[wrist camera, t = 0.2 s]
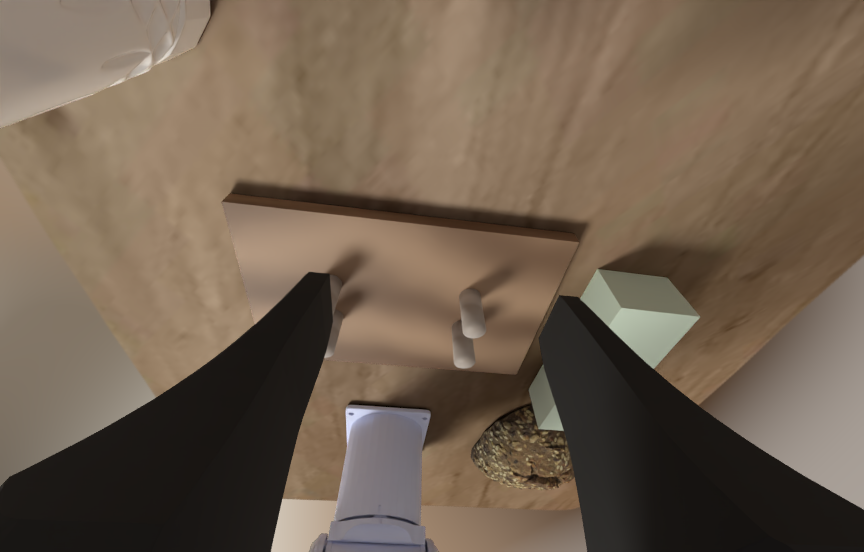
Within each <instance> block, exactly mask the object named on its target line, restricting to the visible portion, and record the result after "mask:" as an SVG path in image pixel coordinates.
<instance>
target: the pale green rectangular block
mask: <svg viewBox="0 0 864 552" xmlns="http://www.w3.org/2000/svg"><path fill="white" fill-rule="evenodd" d="M580 300H582V301H583V302H584V303H585V304H586V305H587V306H588V307H589V308H590V309H591V310H592V311H593V312H594V313H595V314H596V315H597V316H598V317H599V318H600V319H601V320H602V321H603V322H604V323H605V324H606V325H607V326H608V327H609V328H610V329H611V330H612V331H613V332H614V333H615V334H616V335H617V336H618V337H620V338H621V339H622V340H623V341H624V342H625V343H626V344H627V345H628V346H629V347H630V348H631V349H632V350H633V351H634V352H635V353H636V354H637V355H638V356H640V357H641V358H642V359H643V360H644V361H645V362H646V363H647V364H648V365H650V366H651V367H652V368H653V369H654V368H655V367H656V366H657V365H658V363H659V362H660V361H661V360H662V359H663V358H664V357H665V356H666V355H667V353H668V352H669V351H670V350H671V349H672V348H673V347H674V346H675V345H676V344H677V342H678V341H679V340H680V339H681V338H682V337H683V336H684V335H685V334H686V332H687V331H688V330H689V329H690V328H691V327H692V326H693V325H694V324H695V322H696V321H697V320H698V319H699V318H700V316H699V314H698V313H697V312H696V311H695V310H694V309H693V307H692V306H691V305H690V304H689V303H688V301H687V300H686V299H685V298H684V297H683V296H682V294H681V293H680V292H679V291H678V290H677V288H676V287H675V286H674V285H673V284H672V283H671V281H670V280H669V279H668V278H666V277H658V276H650V275H642V274H634V273H626V272H618V271H610V270H602V269H597V270H596V272H595V274H594V276H593V277H592V279H591V281H590V283H589V284H588V286H587V288H586V290H585V291H584V293H583V295H582V297H581V298H580ZM528 390H529V394H530V398H531V402H532V406H533V410H534V414H535V418H536V422H537V426H538V429H546V430H559V431H564V430H563V427H562V424H561V420H560V417H559V414H558V411H557V408H556V405H555V402H554V399H553V395H552V392H551V389H550V386H549V383H548V380H547V376H546V373H545V370H544V366H543V365H542V367H541V368H540V370H539V372H538V374H537V375H536V377H535V379H534V381H533V382H532V384H531V386H530V388H529V389H528Z"/></svg>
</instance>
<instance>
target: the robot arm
mask: <svg viewBox="0 0 864 552" xmlns="http://www.w3.org/2000/svg"><path fill="white" fill-rule="evenodd" d="M332 324H333V313H332V299H331V285H330V274H328V273H317V272H308V273H307V274H306V275H305V276H304V277H303V278H302V279H301V280H300V281H299V282H298V283H297V284H296V285H295V286H294V287H293V288H292V289H291V290H290V291H289V292H288V293H287V294H286V295H285V296H284V297H283V298H282V299H281V300H280V301H279V302H278V303H277V304H276V305H275V306H274V307H273V308H272V309H271V310H270V311H269V312H268V313H267V314H266V315H265V316H264V317H263V318H261V319H260V320H259V321H258V322H257V323H256V324H255V325H254V326H252V327H251V328H250V329H249V330H248V331H247V332H245V333H244V334H243V335H242V336H241V337H240V338H238V339H237V340H236V341H235V342H234V343H233V344H231V345H230V346H229V347H228V348H226V349H225V350H224V351H223V352H221V353H220V354H219V355H217V356H216V357H215V358H213V359H212V360H211V361H209V362H208V363H207V364H205V365H204V366H203V367H201V368H200V369H198V370H197V371H196V372H194V373H193V374H191V375H190V376H188V377H187V378H185V379H184V380H182V381H181V382H179V383H178V384H176V385H175V386H173V387H172V388H170V389H169V390H167V391H166V392H164V393H163V394H161V395H160V396H158V397H156V398H155V399H153V400H152V401H150V402H148V403H147V404H145V405H143V406H142V407H140V408H138V409H137V410H135V411H133V412H131V413H130V414H128V415H126V416H125V417H123V418H121V419H119V420H118V421H116V422H114V423H112V424H111V425H109V426H107V427H105V428H104V429H102V430H100V431H98V432H96V433H94V434H93V435H91V436H89V437H87V438H85V439H84V440H82V441H80V442H78V443H76V444H74V445H72V446H70V447H68V448H66V449H64V450H62V451H60V452H58V453H56V454H55V455H52V456H50V457H48V458H46V459H44V460H42V461H41V462H39V463H37V464H35V465H33V466H31V467H29V468H27V469H25V470H23V471H21V472H19V473H17V474H14V475H12V476H10V477H9V478H8V479H7V480H6V481H5V482H4V483H3V484H2V485H1V486H0V552H271V547H272V543H273V538H274V534H275V528H276V524H277V520H278V515H279V511H280V506H281V502H282V498H283V493H284V489H285V485H286V481H287V476H288V472H289V468H290V464H291V460H292V456H293V452H294V448H295V444H296V440H297V436H298V432H299V429H300V426H301V422H302V419H303V416H304V413H305V410H306V408H307V405H308V402H309V399H310V396H311V393H312V391H313V388H314V385H315V382H316V379H317V377H318V374H319V371H320V368H321V365H322V362H323V359H324V357H325V354H326V351H327V346H328V342H329V338H330V333H331V328H332ZM539 343H540V349H541V355H542V361H543V366H544V370H545V373H546V376H547V380H548V383H549V386H550V389H551V392H552V395H553V399H554V402H555V405H556V408H557V411H558V414H559V417H560V420H561V424H562V427H563V430H564V433H565V437H566V440H567V444H568V448H569V452H570V457H571V462H572V466H573V471H574V476H575V481H576V486H577V492H578V497H579V502H580V508H581V513H582V519H583V526H584V532H585V539H586V546H587V552H864V510H863V509H862V508H860V507H858V506H856V505H854V504H853V503H851V502H849V501H847V500H845V499H844V498H842V497H840V496H838V495H837V494H835V493H833V492H831V491H830V490H828V489H826V488H824V487H823V486H821V485H819V484H817V483H816V482H814V481H812V480H810V479H808V478H807V477H805V476H803V475H802V474H800V473H798V472H797V471H795V470H793V469H792V468H790V467H789V466H787V465H785V464H784V463H782V462H781V461H779V460H777V459H776V458H774V457H772V456H771V455H769V454H768V453H766V452H764V451H763V450H761V449H760V448H758V447H757V446H755V445H754V444H752V443H751V442H749V441H748V440H746V439H745V438H743V437H742V436H740V435H739V434H737V433H736V432H734V431H733V430H731V429H730V428H729V427H727V426H726V425H724V424H723V423H721V422H720V421H719V420H717V419H716V418H714V417H713V416H712V415H710V414H709V413H708V412H706V411H705V410H703V409H702V408H701V407H699V406H698V405H697V404H696V403H694V402H693V401H692V400H690V399H689V398H688V397H687V396H685V395H684V394H683V393H681V392H680V391H679V390H678V389H676V388H675V387H674V386H673V385H672V384H670V383H669V382H668V381H667V380H665V379H664V378H663V377H662V376H661V375H660V374H659V373H657V372H656V371H655V370H654V369H653V368H652V367H651V366H650V365H648V364H647V363H646V362H645V361H644V360H643V359H642V358H641V357H640V356H638V355H637V354H636V353H635V352H634V351H633V350H632V349H631V348H630V347H629V346H628V345H627V344H626V343H625V342H624V341H623V340H622V339H621V338H620V337H618V336H617V335H616V334H615V333H614V332H613V331H612V330H611V329H610V328H609V327H608V326H607V325H606V324H605V323H604V322H603V321H602V320H601V319H600V318H599V317H598V316H597V315H596V314H595V313H594V312H593V311H592V310H591V309H590V308H589V307H588V306H587V305H586V304H585V303H584V302H583V301H582V300H580V299H579V298H578V297H572V296H561V295H559V297H558V299H557V301H556V303H555V305H554V307H553V310H552V312H551V314H550V316H549V318H548V320H547V322H546V324H545V326H544V328H543V330H542V332H541V335H540V337H539ZM430 416H431V412H430V411H429V410H423V409H408V408H393V407H378V406H363V405H348V406H347V407H346V429H347V451H346V457H345V462H344V468H343V473H342V479H341V484H340V490H339V495H338V501H337V506H336V512H335V517H334V521H332V522H331V525H330V530H329V536H328V534H323V533H322V534H320V535H319V537H318V538H317V539H316V540H315V541H314V542H313V543H312V545H311V547H310V550H309V552H439V551H438V549H437V547H436V546H435V545H434V542H433V541H432V540H431V539H426V538H425V526H421V481H422V448H423V444H424V440H425V436H426V432H427V428H428V424H429V420H430Z"/></svg>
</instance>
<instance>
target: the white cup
mask: <svg viewBox="0 0 864 552" xmlns="http://www.w3.org/2000/svg"><path fill="white" fill-rule="evenodd" d="M210 16H211V11H210V0H0V129H1V128H4V127H6V126H9V125H12V124H14V123H17V122H20V121H22V120H25V119H28V118H31V117H33V116H36V115H39V114H42V113H44V112H47V111H50V110H53V109H55V108H58V107H61V106H63V105H66V104H69V103H72V102H75V101H77V100H80V99H83V98H86V97H89V96H91V95H94V94H96V93H98V92H100V91H102V90H103V89H105V88H108V87H111V86H114V85H117V84H119V83H122V82H124V81H126V80H128V79H130V78H133V77H136V76H138V75H141V74H143V73H146V72H148V71H149V70H150V69H151V68H152V67H153V66H155V65H158V64H161V63H164V62H166V61H169V60H171V59H173V58H175V57H177V56H179V55H181V54H183V53H185V52H187V51H189V50H191V49H193V48H195V47H196V45H197V43H198V41H199V39H200V37H201V35H202V33H203V31H204V29H205V27H206V25H207V23H208V21H209V19H210Z"/></svg>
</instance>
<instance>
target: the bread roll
mask: <svg viewBox="0 0 864 552" xmlns="http://www.w3.org/2000/svg"><path fill="white" fill-rule="evenodd" d="M471 458H472V460H473V462H474V464H475V465H476V467H477V468H478V469H479V470H480V471H481V472H483V473H484V475H485V476H487V477H489V478H491V479H493V481H496V482H500V484H505V485H506V486H507V487H511V486H513V487H514V488H520V489H522V488H528V489H531V488H532V489H538V490H544V489H554V488H559V486H560V485H561V484H563V483H569V482H570V481H571V480H572V479H573V478H574V477H575V476H574V471H573V466H572V462H571V457H570V452H569V448H568V444H567V440H566V437H565V433H564V431H559V430H546V429H538V426H537V422H536V418H535V414H534V410H533V406H532V405H529V406H526V407H523V408H521V409H519V410H517V411H515V412H513V413H511V414H509V415H508V416H506V417H505V418H503V419H501V420H499V421H497V422H495V423H494V424H493V425H492V426H491V427H490V428H489V429H488V430H486V431H485V432H484V434H483V435H482V437H481V439H480V440H479V441H478V443H477V444H476V445H474V447H473V448H472V452H471Z"/></svg>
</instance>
